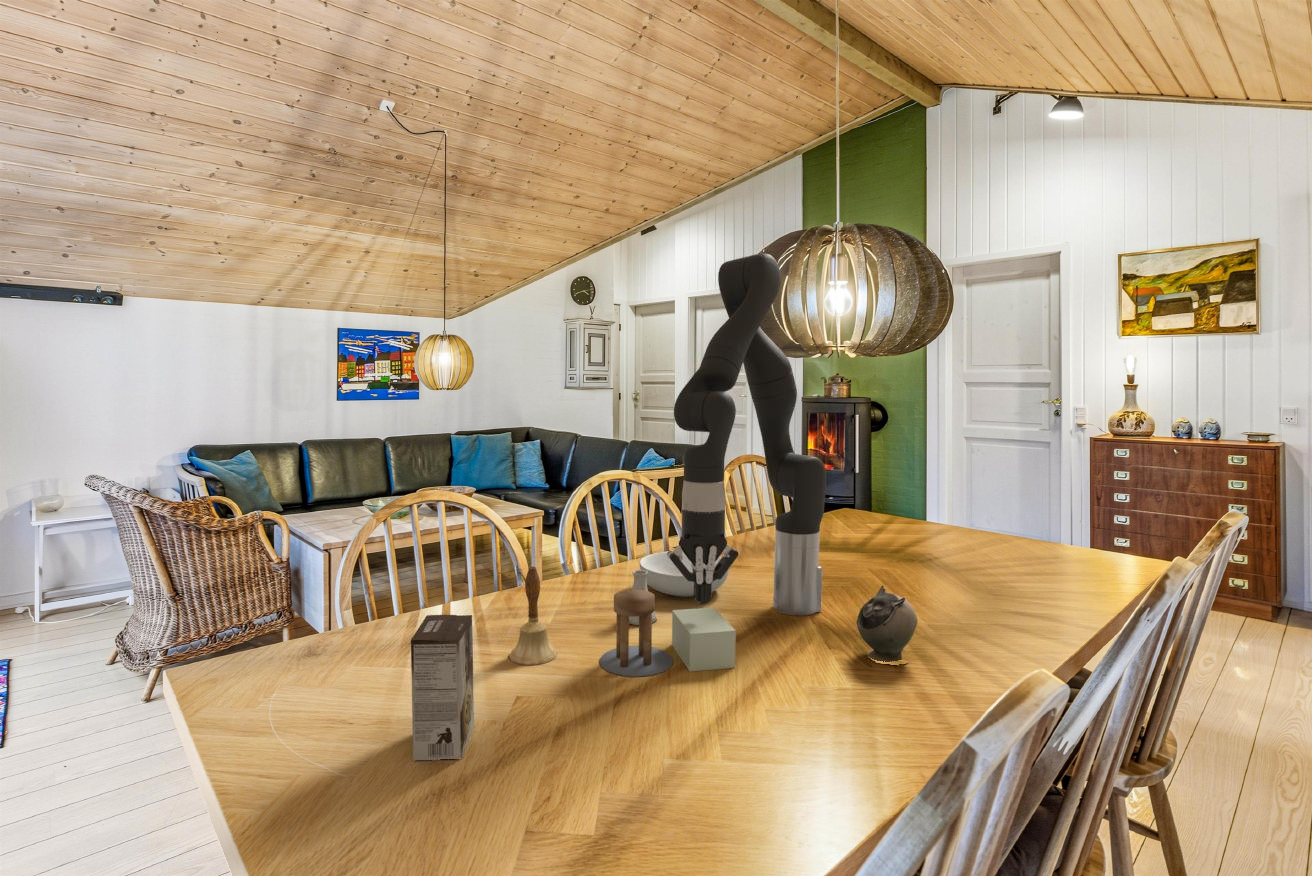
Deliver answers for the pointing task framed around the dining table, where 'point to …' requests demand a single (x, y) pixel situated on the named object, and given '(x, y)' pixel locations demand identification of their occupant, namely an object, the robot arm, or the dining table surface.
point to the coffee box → (442, 687)
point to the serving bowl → (672, 575)
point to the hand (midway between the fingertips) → (702, 603)
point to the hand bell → (533, 630)
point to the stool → (643, 607)
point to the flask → (640, 584)
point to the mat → (636, 663)
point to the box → (703, 639)
